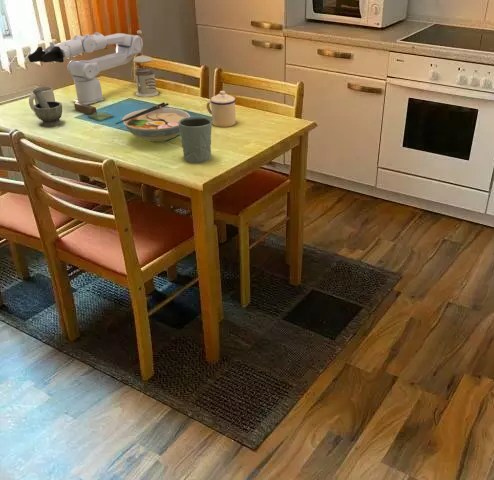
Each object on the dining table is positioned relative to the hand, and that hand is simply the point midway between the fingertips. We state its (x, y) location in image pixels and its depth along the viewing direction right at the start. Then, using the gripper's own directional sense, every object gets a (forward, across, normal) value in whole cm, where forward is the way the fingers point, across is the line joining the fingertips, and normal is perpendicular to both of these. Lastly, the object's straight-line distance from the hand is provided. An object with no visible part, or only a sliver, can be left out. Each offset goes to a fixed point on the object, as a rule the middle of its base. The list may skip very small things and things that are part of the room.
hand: (36, 59), depth 211 cm
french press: (-39, +10, +24) cm, 47 cm away
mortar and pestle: (+8, +6, +21) cm, 23 cm away
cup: (+1, -5, +20) cm, 21 cm away
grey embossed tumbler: (+5, +73, +29) cm, 79 cm away
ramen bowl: (-1, +50, +27) cm, 57 cm away
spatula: (-8, +11, +22) cm, 26 cm away
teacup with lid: (-26, +58, +29) cm, 70 cm away
